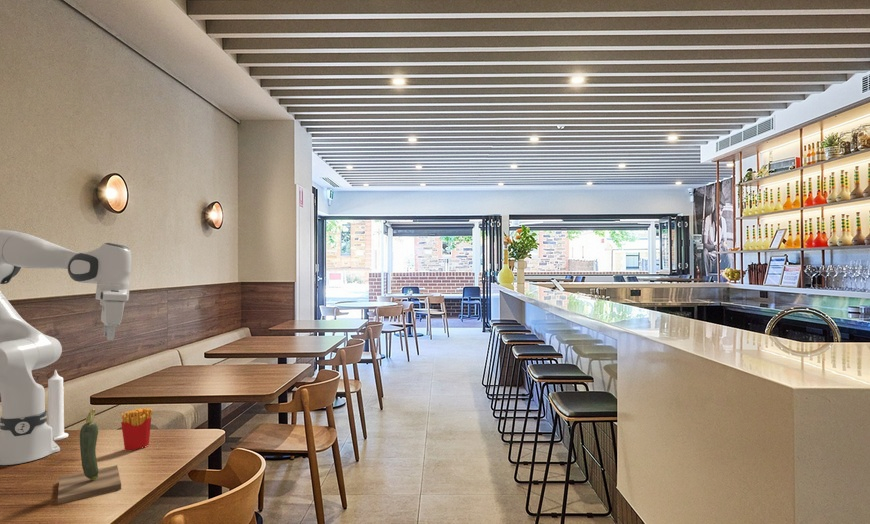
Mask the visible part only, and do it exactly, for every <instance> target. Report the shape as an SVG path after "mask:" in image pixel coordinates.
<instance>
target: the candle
mask: <svg viewBox="0 0 870 524" xmlns="http://www.w3.org/2000/svg"><path fill="white" fill-rule="evenodd" d="M57 370H58V369H54V372H53V374H52V376H51V377H50V378H48V379H47V390H48V391H47V393H48V394H47V396H48V400H47V401H48V408H47V410H48V425H49V426H50V427H52V437H54V440H53V441H54V442H55V441H59V440H63V439H66V438H69V433H68V432H65V406H64V404H65V403H64V401H65V400H64V399H65V396H64V395H65V394H64V391H65V389H64V387H65V386H64V377H63V376H60V375H59V374H58V371H57Z"/></svg>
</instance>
